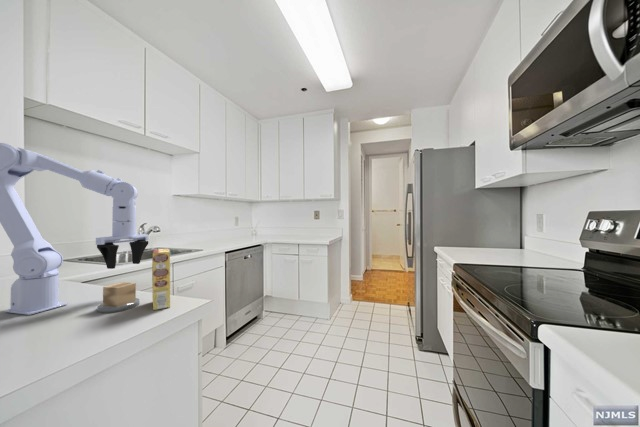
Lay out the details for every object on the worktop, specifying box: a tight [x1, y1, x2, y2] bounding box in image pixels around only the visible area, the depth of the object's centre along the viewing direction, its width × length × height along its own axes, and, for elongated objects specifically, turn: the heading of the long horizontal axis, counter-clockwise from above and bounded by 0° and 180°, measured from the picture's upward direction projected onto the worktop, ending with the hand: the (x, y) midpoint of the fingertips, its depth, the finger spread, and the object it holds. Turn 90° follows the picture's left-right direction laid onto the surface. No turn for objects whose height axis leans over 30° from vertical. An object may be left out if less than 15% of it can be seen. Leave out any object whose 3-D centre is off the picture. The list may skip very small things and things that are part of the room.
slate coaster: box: [96, 297, 140, 314], centre depth 68 cm, size 9×9×1 cm
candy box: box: [151, 248, 171, 311], centre depth 70 cm, size 9×4×15 cm, turn 33°
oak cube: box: [102, 281, 137, 307], centre depth 68 cm, size 5×5×5 cm
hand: (124, 265), depth 76 cm, fingers open, 7 cm apart
